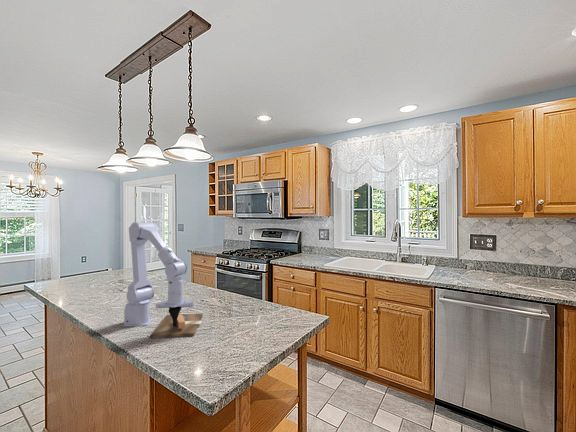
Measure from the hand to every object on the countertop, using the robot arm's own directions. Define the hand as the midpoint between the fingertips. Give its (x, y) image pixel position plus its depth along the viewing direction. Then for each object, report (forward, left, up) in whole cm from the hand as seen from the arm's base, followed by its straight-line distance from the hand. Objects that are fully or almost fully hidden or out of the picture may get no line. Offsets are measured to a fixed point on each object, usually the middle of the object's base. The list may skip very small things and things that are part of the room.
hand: (175, 325), depth 113 cm
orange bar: (+1, +3, 0) cm, 4 cm away
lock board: (0, +6, -3) cm, 7 cm away
